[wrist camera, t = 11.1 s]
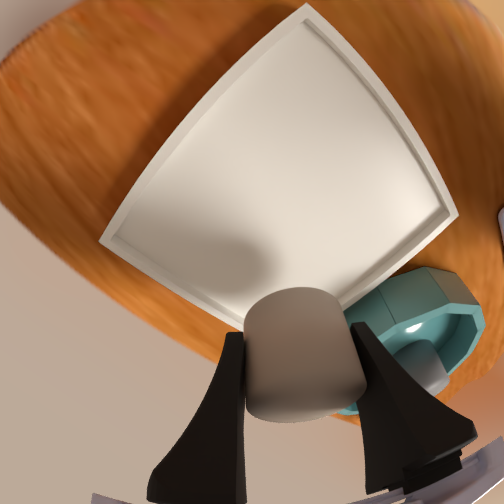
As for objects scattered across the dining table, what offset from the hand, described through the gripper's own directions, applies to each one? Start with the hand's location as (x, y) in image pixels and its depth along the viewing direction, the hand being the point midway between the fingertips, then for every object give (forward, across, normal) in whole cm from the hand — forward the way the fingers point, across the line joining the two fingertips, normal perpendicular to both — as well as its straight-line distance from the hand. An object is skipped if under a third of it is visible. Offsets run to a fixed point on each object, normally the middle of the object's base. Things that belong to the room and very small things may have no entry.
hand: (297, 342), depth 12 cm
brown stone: (+1, 0, 0) cm, 1 cm away
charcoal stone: (+4, -12, +9) cm, 15 cm away
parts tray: (+5, 0, -4) cm, 6 cm away
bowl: (+5, -9, +7) cm, 13 cm away
